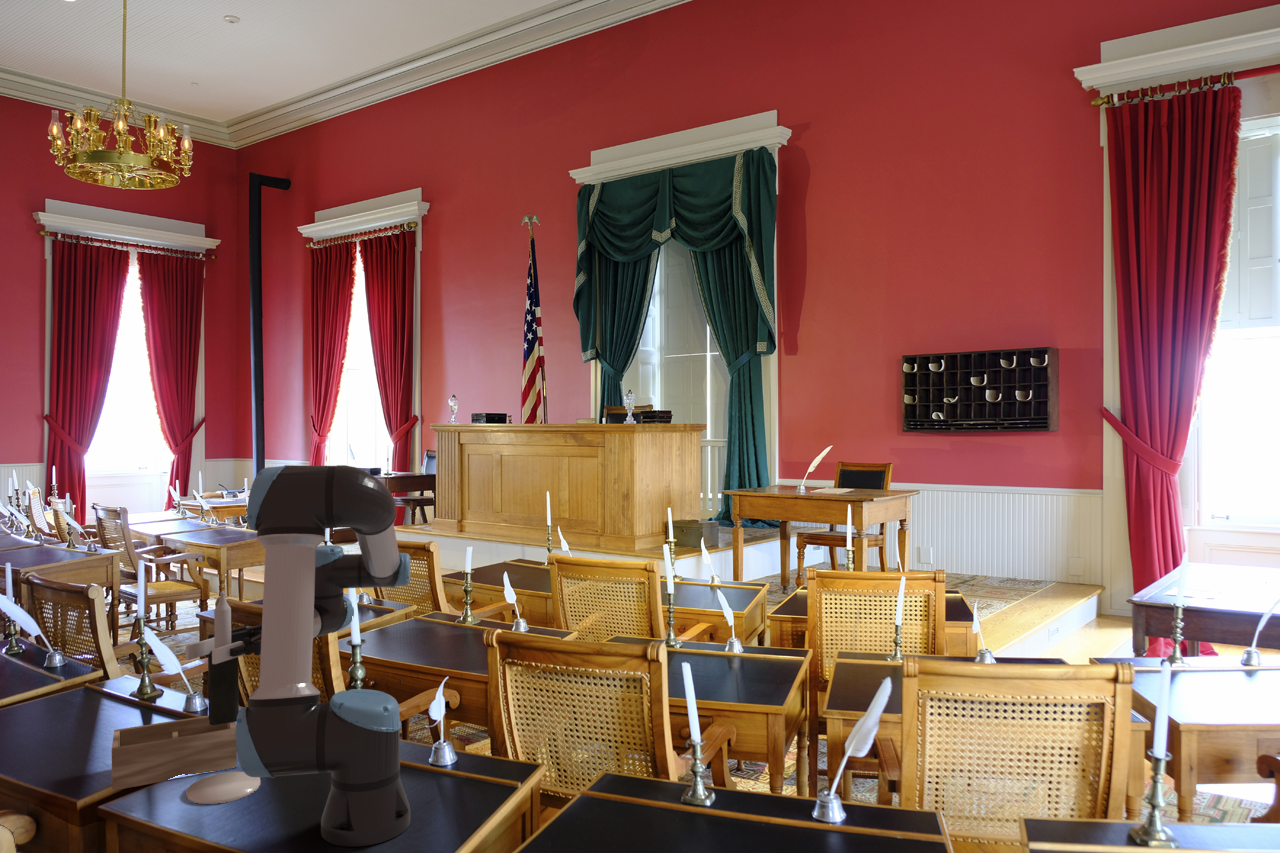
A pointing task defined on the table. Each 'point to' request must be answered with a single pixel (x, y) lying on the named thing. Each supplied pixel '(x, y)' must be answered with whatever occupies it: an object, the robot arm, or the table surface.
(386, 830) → the robot arm
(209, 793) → the plate
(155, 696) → the table surface
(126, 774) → the candle box
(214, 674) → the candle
